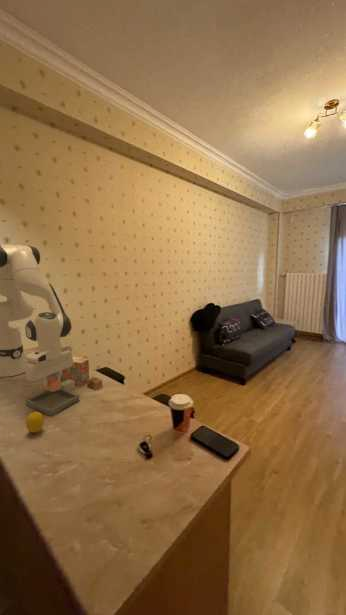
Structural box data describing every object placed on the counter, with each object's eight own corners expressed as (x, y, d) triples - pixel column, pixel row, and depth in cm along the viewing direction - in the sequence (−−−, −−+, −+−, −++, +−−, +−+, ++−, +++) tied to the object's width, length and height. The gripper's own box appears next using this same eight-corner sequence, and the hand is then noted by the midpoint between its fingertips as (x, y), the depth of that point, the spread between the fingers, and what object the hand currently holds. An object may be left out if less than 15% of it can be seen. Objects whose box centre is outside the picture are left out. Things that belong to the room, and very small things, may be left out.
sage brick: (58, 391, 125) (58, 383, 124) (69, 386, 130) (69, 379, 129) (64, 394, 123) (63, 385, 122) (75, 389, 128) (74, 381, 127)
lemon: (48, 429, 97) (46, 409, 95) (35, 439, 92) (33, 417, 90) (36, 426, 98) (34, 406, 97) (23, 435, 93) (21, 414, 92)
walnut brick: (87, 387, 130) (87, 379, 129) (93, 384, 133) (93, 376, 132) (95, 390, 127) (95, 382, 126) (102, 387, 130) (102, 379, 129)
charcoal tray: (26, 405, 112) (26, 400, 112) (55, 391, 124) (55, 386, 124) (51, 416, 105) (50, 410, 104) (79, 401, 117) (79, 395, 116)
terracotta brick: (43, 388, 113) (42, 379, 113) (51, 385, 117) (51, 376, 116) (52, 392, 110) (52, 383, 110) (61, 388, 114) (60, 379, 113)
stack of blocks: (46, 380, 136) (44, 357, 134) (54, 375, 142) (53, 353, 140) (82, 386, 130) (81, 362, 128) (89, 381, 136) (88, 358, 134)
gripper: (66, 344, 121) (67, 372, 123) (21, 357, 104) (24, 390, 106) (75, 346, 118) (77, 375, 120) (31, 360, 100) (34, 394, 103)
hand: (52, 383), depth 113 cm, fingers closed on terracotta brick, 4 cm apart
